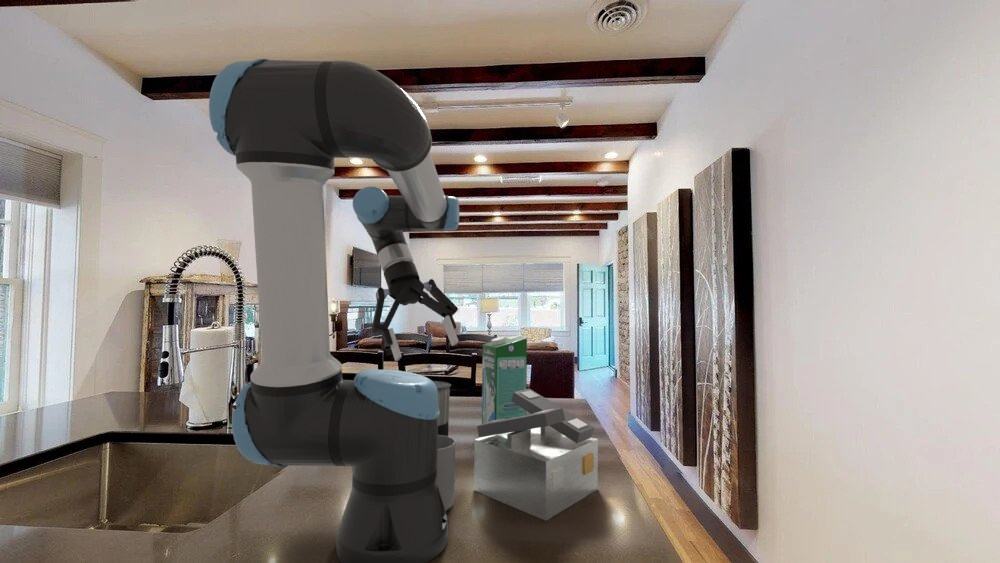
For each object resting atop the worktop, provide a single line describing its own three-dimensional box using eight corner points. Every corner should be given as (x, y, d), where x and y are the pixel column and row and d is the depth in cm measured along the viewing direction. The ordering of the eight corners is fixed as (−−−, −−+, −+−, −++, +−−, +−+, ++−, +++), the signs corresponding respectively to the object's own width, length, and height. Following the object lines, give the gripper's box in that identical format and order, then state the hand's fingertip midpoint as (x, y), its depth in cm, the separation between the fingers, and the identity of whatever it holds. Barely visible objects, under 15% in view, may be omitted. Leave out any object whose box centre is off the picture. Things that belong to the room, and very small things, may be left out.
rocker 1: (547, 426, 68) (544, 411, 68) (479, 437, 78) (476, 424, 78) (565, 420, 71) (562, 406, 72) (497, 431, 81) (495, 419, 82)
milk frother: (458, 448, 100) (459, 384, 101) (403, 467, 88) (405, 394, 89) (418, 435, 109) (419, 377, 110) (364, 451, 97) (366, 385, 98)
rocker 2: (576, 443, 75) (580, 432, 74) (511, 401, 85) (513, 391, 85) (591, 437, 78) (594, 426, 78) (526, 397, 89) (529, 387, 89)
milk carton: (481, 428, 117) (482, 335, 118) (511, 424, 120) (512, 335, 122) (495, 437, 108) (496, 338, 110) (526, 433, 112) (527, 337, 114)
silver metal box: (547, 521, 66) (547, 446, 67) (473, 490, 77) (474, 425, 78) (599, 489, 78) (599, 426, 79) (529, 466, 89) (529, 410, 90)
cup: (401, 495, 75) (402, 437, 75) (447, 489, 78) (448, 433, 78) (408, 518, 67) (410, 452, 67) (459, 510, 70) (460, 447, 70)
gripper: (440, 268, 110) (470, 343, 104) (341, 283, 96) (368, 371, 90) (451, 253, 105) (482, 332, 98) (347, 266, 91) (375, 359, 84)
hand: (428, 351), depth 94 cm, fingers open, 13 cm apart
